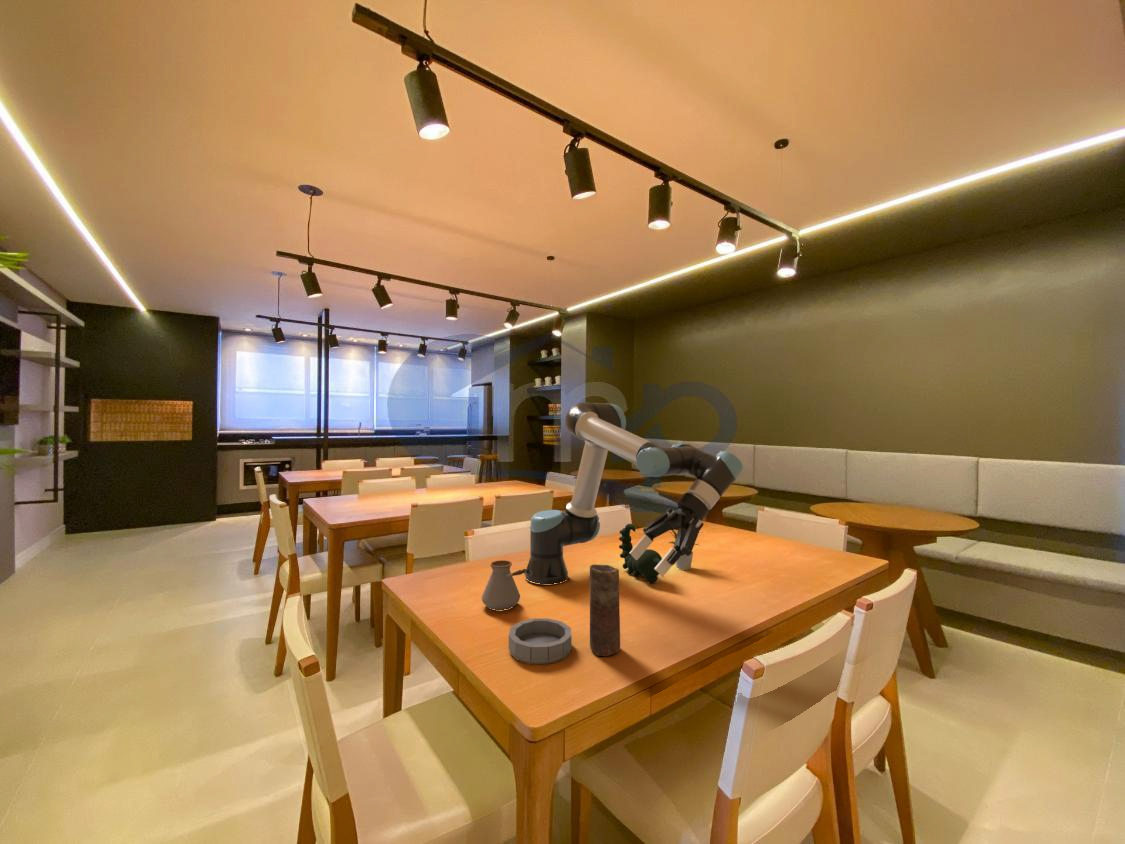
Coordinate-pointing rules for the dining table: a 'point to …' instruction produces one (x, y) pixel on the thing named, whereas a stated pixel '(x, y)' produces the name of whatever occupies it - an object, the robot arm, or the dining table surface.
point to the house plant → (683, 557)
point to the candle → (604, 610)
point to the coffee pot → (502, 586)
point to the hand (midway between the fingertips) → (644, 564)
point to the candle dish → (540, 641)
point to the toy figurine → (644, 562)
